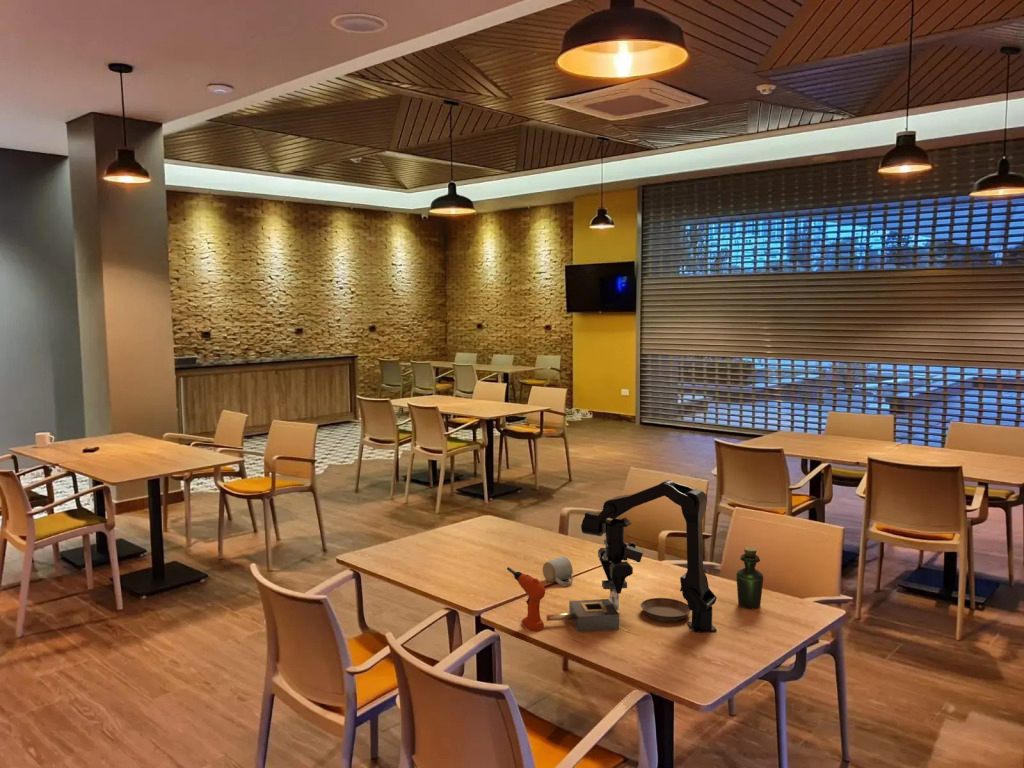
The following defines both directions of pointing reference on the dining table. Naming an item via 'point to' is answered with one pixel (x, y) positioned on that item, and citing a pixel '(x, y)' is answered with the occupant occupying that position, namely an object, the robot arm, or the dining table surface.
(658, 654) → the dining table surface
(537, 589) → the toy drill
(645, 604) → the saucer
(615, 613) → the block
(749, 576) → the potion bottle
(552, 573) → the ceramic mug
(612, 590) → the block
